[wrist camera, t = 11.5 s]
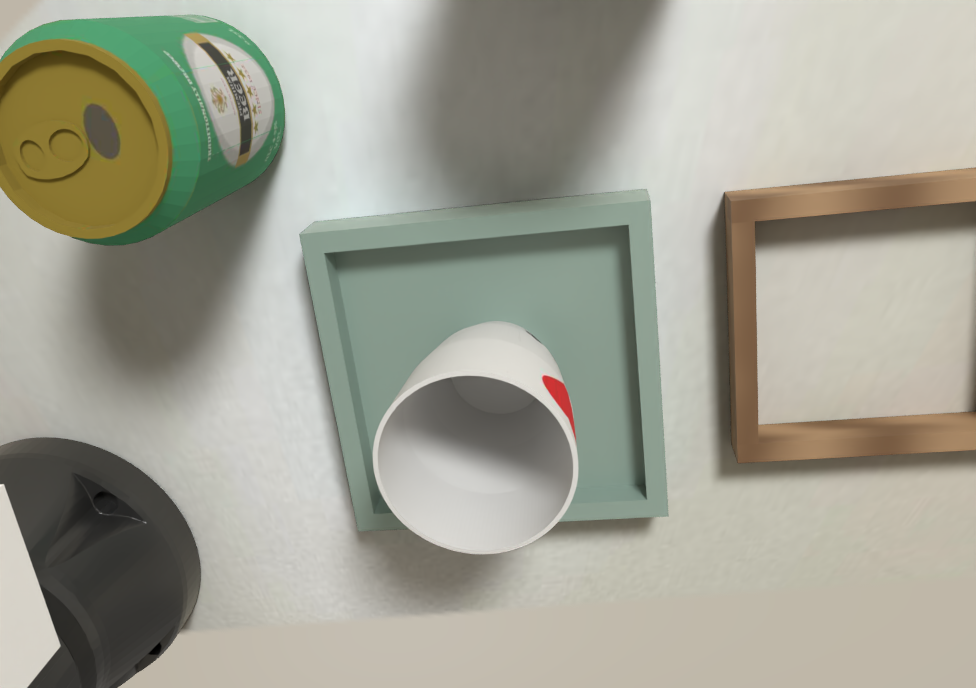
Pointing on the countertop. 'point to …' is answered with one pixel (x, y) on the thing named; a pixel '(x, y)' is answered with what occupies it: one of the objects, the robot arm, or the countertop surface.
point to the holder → (742, 325)
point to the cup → (480, 443)
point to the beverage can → (133, 122)
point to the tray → (510, 298)
